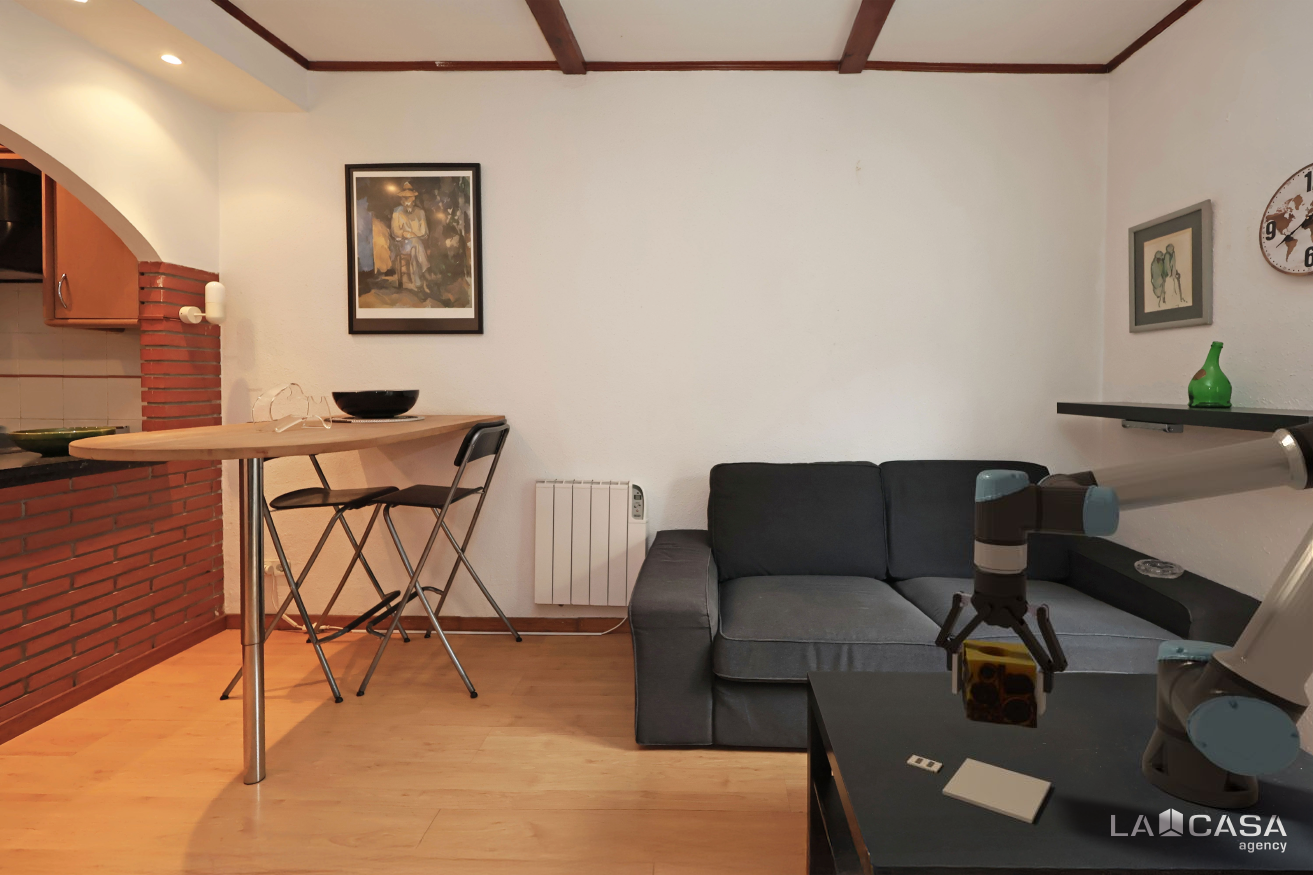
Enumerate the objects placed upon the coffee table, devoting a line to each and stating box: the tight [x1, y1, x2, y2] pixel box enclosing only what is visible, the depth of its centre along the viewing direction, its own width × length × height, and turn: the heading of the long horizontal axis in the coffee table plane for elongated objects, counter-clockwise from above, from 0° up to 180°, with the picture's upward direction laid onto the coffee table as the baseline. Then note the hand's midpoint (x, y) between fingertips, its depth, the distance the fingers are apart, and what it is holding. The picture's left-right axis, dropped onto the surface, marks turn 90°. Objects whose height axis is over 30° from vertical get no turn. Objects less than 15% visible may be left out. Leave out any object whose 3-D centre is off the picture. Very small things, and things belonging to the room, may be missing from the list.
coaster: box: [942, 757, 1052, 824], centre depth 118 cm, size 13×13×1 cm
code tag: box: [906, 754, 943, 773], centre depth 126 cm, size 5×3×1 cm, turn 51°
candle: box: [961, 639, 1038, 729], centre depth 117 cm, size 10×10×10 cm
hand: (997, 700), depth 117 cm, fingers closed on candle, 12 cm apart
